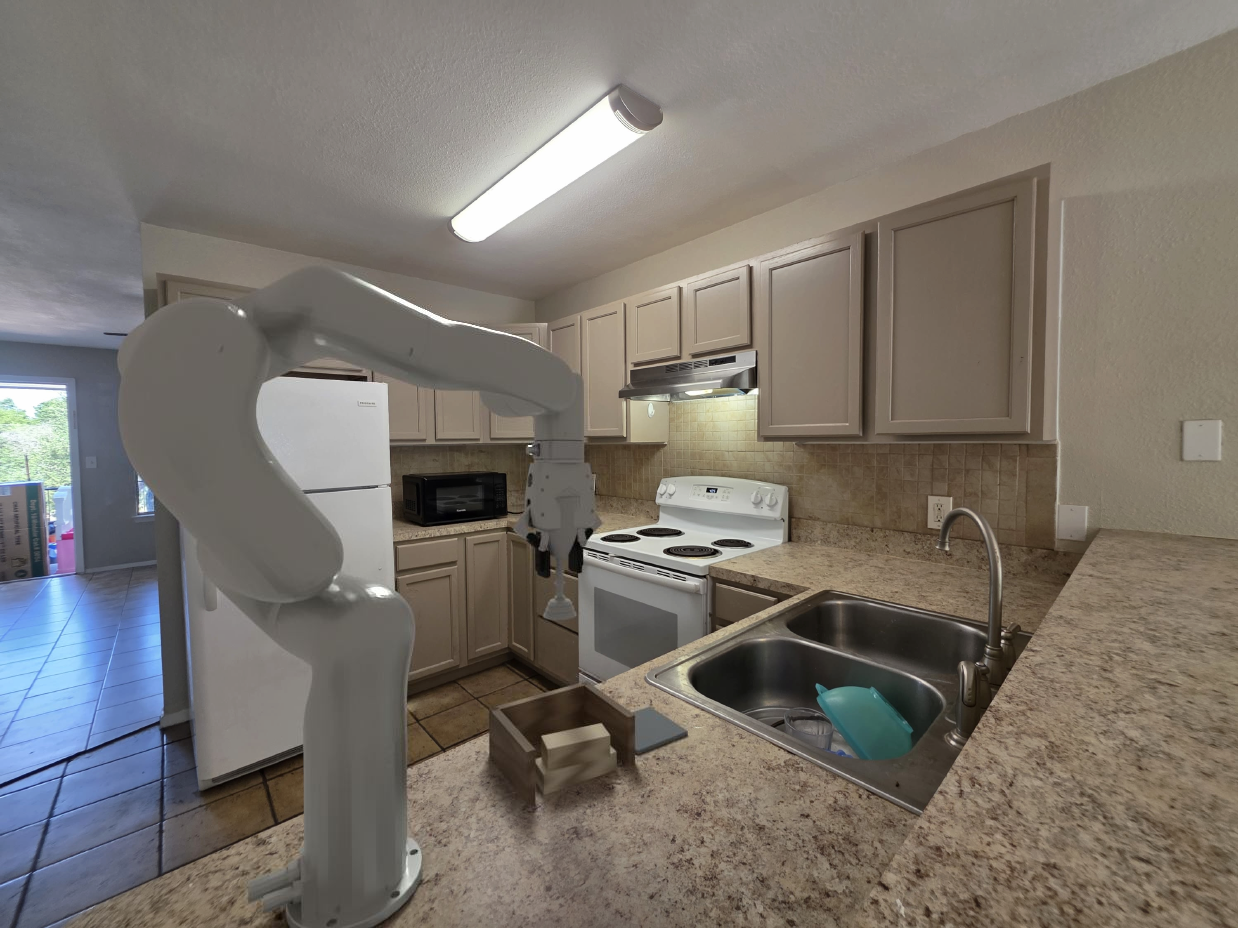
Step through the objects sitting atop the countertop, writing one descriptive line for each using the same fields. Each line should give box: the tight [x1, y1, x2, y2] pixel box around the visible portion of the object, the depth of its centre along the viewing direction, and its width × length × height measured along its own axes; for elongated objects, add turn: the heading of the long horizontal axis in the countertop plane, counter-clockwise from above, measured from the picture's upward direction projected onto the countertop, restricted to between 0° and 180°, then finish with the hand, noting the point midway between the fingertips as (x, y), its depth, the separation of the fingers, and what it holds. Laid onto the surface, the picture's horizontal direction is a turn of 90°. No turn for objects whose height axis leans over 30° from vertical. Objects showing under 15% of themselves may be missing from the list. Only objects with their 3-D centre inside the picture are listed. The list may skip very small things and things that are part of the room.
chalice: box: [542, 497, 579, 621], centre depth 77 cm, size 7×7×18 cm
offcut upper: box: [540, 723, 610, 771], centre depth 72 cm, size 9×4×3 cm, turn 112°
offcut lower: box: [536, 746, 618, 795], centre depth 72 cm, size 11×4×3 cm, turn 119°
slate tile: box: [631, 706, 689, 755], centre depth 83 cm, size 10×10×1 cm
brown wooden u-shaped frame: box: [488, 680, 636, 808], centre depth 75 cm, size 17×14×7 cm
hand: (559, 572), depth 77 cm, fingers closed on chalice, 4 cm apart
